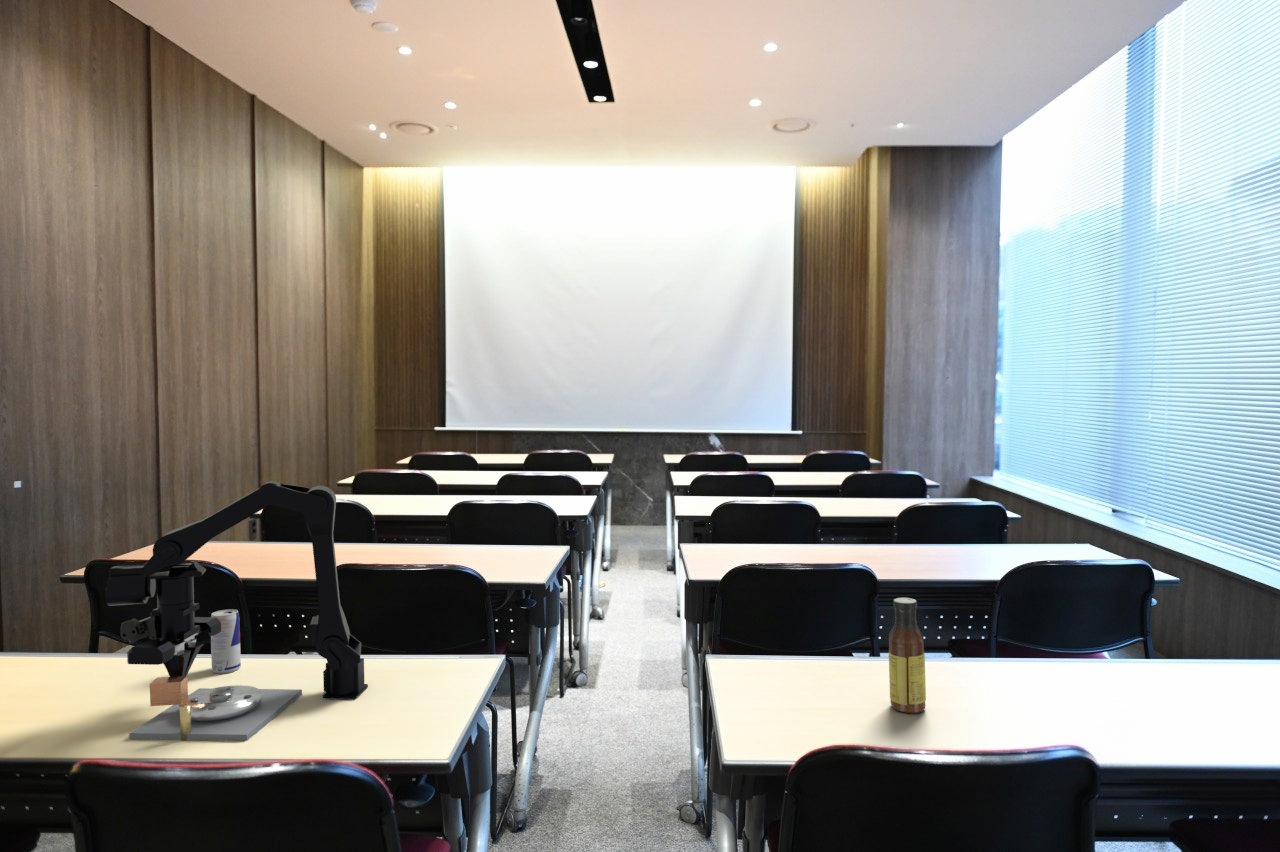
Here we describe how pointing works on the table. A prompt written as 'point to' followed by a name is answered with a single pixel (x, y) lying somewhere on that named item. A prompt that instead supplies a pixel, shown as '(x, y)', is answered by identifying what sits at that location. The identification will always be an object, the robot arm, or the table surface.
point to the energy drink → (226, 643)
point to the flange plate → (204, 698)
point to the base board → (222, 729)
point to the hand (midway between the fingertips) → (178, 686)
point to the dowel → (185, 720)
